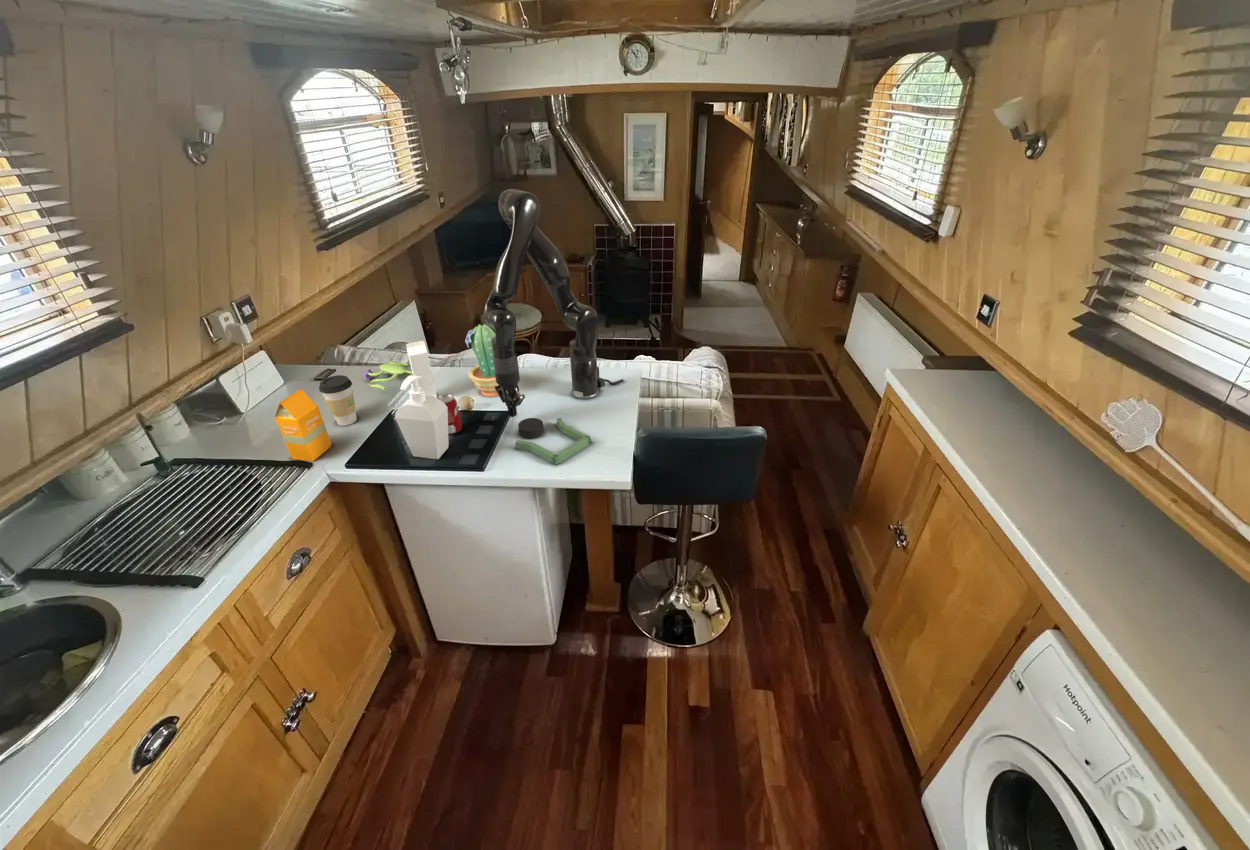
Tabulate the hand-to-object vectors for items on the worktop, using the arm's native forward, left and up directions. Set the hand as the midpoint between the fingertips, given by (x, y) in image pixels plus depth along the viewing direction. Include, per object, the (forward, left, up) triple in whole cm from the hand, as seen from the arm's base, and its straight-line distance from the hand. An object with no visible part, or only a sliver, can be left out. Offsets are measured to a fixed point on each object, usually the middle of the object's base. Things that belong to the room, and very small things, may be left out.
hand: (512, 415), depth 182 cm
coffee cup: (+35, -45, -3) cm, 57 cm away
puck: (0, +9, -3) cm, 9 cm away
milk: (+9, -37, -3) cm, 38 cm away
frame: (0, +20, -3) cm, 20 cm away
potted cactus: (-10, -24, -3) cm, 26 cm away
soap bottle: (+28, -6, -3) cm, 29 cm away
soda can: (+16, -12, -3) cm, 20 cm away
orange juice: (+51, -35, -3) cm, 62 cm away
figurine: (+9, -60, -3) cm, 61 cm away
